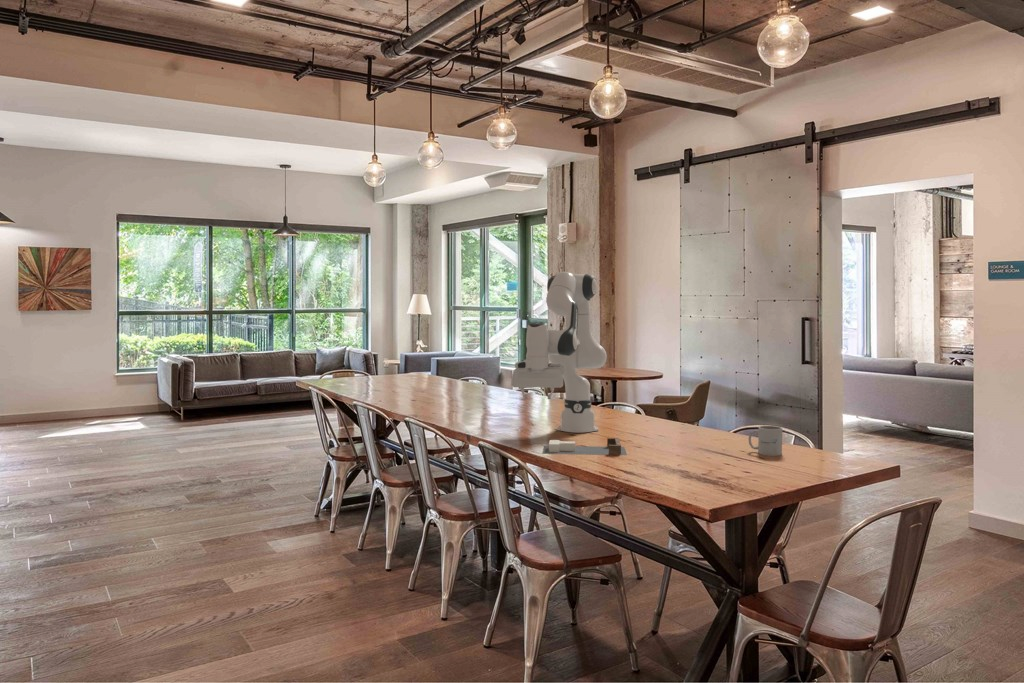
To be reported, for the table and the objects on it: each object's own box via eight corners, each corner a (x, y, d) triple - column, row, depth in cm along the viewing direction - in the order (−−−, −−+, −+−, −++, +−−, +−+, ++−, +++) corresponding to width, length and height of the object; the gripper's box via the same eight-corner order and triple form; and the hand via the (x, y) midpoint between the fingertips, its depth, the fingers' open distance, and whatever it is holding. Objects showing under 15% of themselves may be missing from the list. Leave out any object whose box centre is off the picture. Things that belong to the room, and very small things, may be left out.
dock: (607, 446, 299) (607, 437, 299) (618, 446, 298) (618, 438, 298) (608, 454, 283) (608, 445, 283) (620, 454, 282) (621, 445, 282)
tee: (549, 447, 297) (549, 439, 297) (575, 447, 296) (575, 440, 296) (548, 451, 288) (548, 444, 288) (575, 452, 287) (575, 444, 287)
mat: (543, 446, 301) (543, 445, 301) (624, 448, 298) (624, 446, 298) (542, 454, 285) (542, 453, 285) (626, 456, 282) (626, 454, 282)
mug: (785, 453, 287) (786, 427, 287) (775, 456, 281) (776, 430, 281) (755, 449, 296) (755, 423, 295) (745, 452, 290) (745, 426, 289)
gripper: (564, 363, 294) (564, 398, 294) (512, 362, 296) (512, 397, 296) (564, 364, 288) (563, 400, 288) (510, 364, 289) (510, 399, 290)
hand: (537, 399), depth 292 cm, fingers open, 8 cm apart
